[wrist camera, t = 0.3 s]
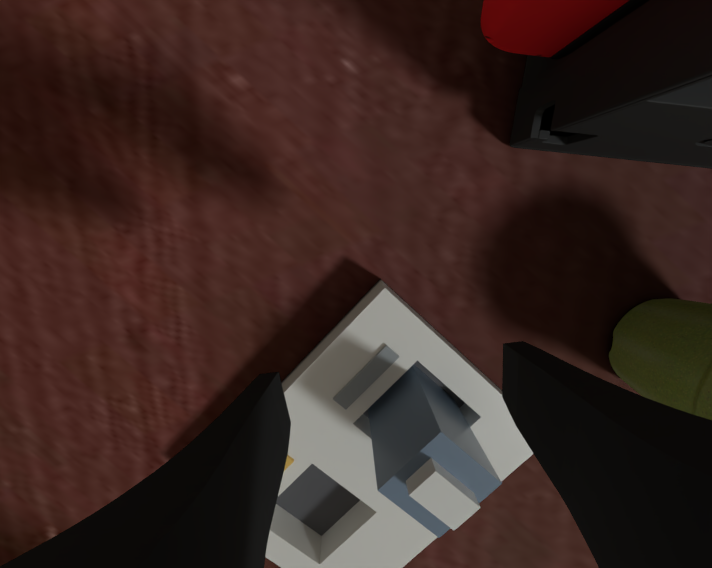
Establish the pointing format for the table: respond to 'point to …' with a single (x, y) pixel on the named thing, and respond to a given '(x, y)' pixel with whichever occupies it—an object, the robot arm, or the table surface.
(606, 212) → the table surface
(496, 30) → the game console
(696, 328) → the plant pot
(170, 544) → the robot arm
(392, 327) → the socket panel
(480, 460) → the plug
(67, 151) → the table surface
